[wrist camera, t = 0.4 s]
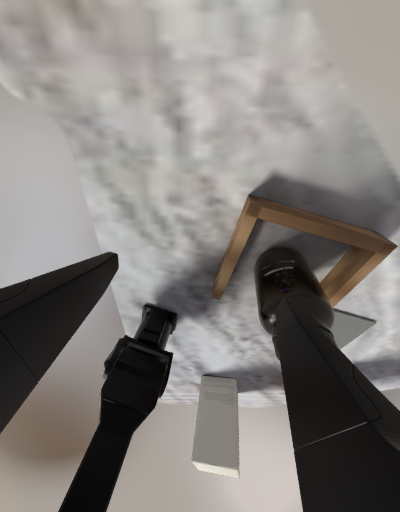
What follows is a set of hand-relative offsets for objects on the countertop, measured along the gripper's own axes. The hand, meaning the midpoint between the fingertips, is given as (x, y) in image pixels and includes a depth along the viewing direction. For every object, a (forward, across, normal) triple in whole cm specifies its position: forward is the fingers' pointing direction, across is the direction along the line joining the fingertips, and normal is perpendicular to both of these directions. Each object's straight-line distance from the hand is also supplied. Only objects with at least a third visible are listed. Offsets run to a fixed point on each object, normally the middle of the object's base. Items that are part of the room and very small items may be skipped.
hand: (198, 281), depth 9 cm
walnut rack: (+14, -10, +5) cm, 18 cm away
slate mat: (+14, -23, +16) cm, 31 cm away
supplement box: (+15, -13, +46) cm, 51 cm away
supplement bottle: (+14, -10, +6) cm, 19 cm away
